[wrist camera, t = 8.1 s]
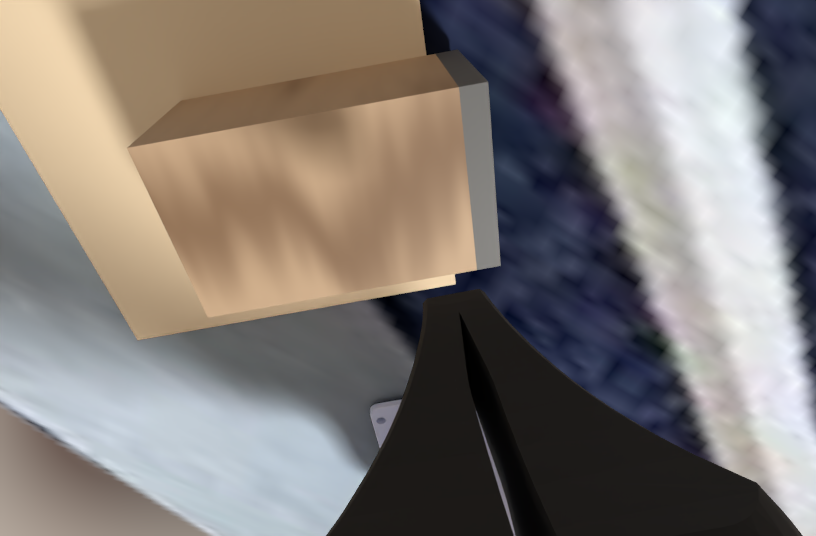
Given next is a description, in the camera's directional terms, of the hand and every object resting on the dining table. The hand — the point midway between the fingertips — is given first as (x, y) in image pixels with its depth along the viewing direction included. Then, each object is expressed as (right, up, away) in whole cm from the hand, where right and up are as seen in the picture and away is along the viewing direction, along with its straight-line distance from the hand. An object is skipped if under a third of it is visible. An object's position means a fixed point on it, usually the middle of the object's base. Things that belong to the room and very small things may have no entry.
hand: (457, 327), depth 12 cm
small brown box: (+1, +5, +6) cm, 8 cm away
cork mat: (-7, +5, +8) cm, 12 cm away
